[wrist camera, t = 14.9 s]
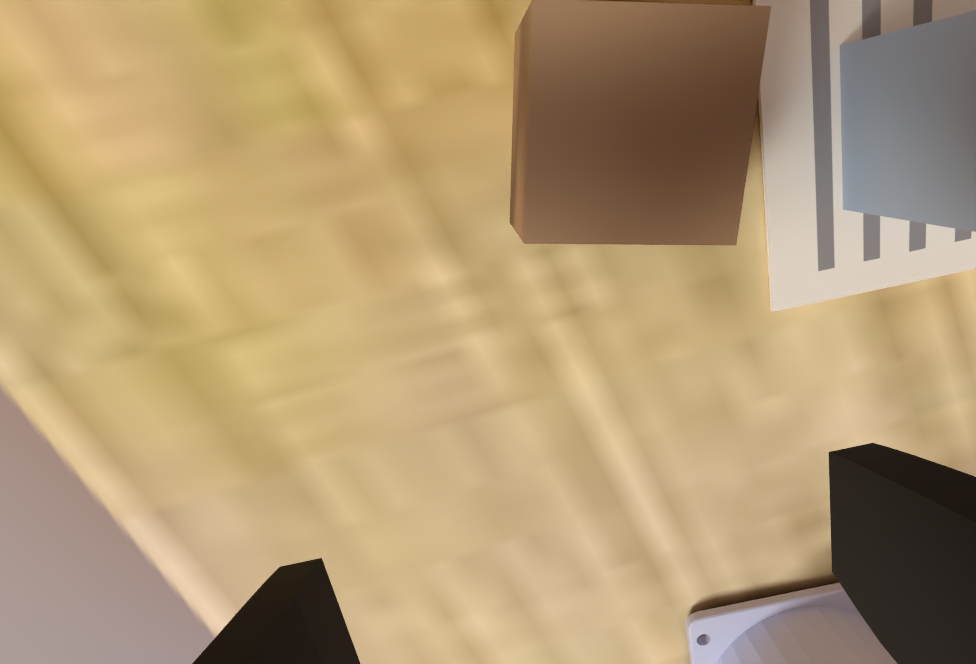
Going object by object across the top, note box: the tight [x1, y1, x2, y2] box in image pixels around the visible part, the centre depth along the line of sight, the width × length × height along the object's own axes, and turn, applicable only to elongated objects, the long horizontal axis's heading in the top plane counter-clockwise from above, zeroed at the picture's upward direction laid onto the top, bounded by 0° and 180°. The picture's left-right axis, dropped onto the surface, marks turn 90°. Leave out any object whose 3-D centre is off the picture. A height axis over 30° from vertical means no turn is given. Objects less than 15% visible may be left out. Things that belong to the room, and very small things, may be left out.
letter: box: [752, 0, 976, 312], centre depth 16 cm, size 12×9×1 cm
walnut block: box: [510, 0, 771, 245], centre depth 15 cm, size 5×5×4 cm
